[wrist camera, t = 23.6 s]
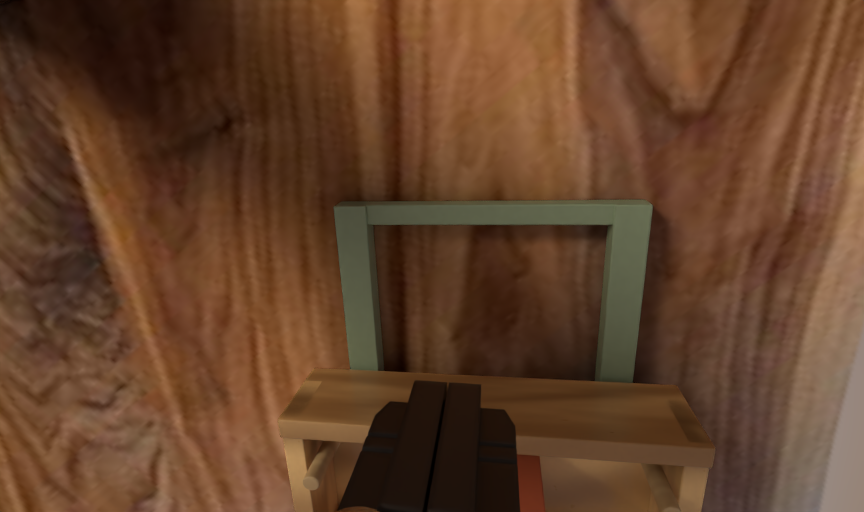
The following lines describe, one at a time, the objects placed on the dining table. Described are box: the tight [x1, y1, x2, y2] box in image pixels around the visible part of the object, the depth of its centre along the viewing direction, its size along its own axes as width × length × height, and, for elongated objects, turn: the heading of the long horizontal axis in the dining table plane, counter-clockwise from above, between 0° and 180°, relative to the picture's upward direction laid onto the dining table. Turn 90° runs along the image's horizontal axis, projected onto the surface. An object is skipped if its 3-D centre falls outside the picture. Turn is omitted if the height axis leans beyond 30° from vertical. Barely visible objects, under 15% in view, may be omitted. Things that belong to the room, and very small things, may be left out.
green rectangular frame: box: [334, 200, 653, 383], centre depth 24 cm, size 21×19×4 cm
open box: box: [278, 368, 716, 512], centre depth 23 cm, size 11×18×5 cm, turn 92°
